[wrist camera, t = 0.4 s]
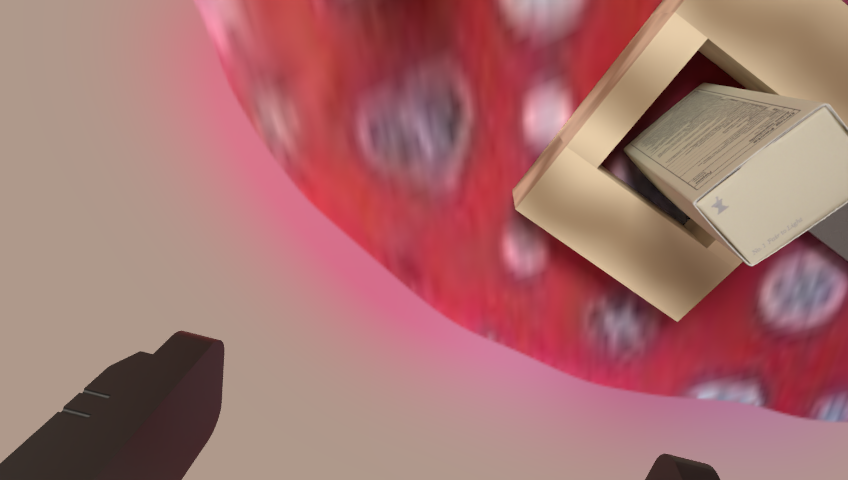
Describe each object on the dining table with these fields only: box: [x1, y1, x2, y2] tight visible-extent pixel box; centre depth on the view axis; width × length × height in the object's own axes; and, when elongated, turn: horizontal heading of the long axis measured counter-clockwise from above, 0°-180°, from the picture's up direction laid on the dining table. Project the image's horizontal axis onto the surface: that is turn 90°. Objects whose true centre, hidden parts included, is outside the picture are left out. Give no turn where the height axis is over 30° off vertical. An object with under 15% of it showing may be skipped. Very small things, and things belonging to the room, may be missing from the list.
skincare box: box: [624, 83, 848, 266], centre depth 27 cm, size 6×4×12 cm
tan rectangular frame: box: [512, 0, 848, 322], centre depth 30 cm, size 18×13×4 cm
